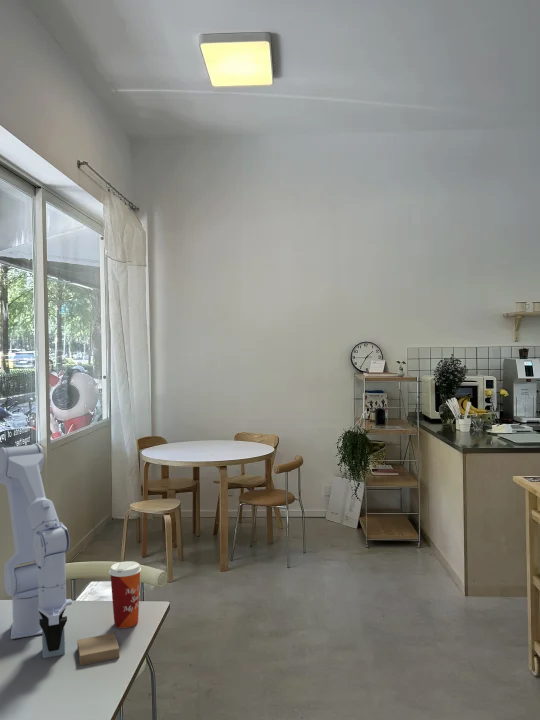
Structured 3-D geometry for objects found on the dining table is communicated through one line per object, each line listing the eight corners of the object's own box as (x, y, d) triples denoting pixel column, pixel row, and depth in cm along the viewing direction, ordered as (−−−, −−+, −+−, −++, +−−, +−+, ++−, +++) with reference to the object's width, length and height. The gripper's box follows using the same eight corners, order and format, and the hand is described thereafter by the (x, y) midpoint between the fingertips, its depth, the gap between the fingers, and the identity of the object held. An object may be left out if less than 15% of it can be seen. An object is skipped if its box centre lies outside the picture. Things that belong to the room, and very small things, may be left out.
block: (42, 649, 131) (42, 624, 131) (63, 645, 132) (63, 620, 133) (42, 658, 127) (42, 632, 127) (64, 654, 128) (64, 628, 128)
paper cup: (134, 631, 139) (133, 571, 139) (104, 629, 140) (103, 570, 140) (147, 617, 146) (146, 560, 147) (119, 615, 148) (118, 559, 148)
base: (77, 648, 130) (77, 639, 131) (114, 641, 134) (114, 632, 134) (80, 665, 123) (80, 655, 123) (119, 657, 126) (119, 648, 126)
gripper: (73, 591, 125) (74, 655, 124) (69, 570, 138) (70, 628, 138) (37, 597, 122) (38, 663, 122) (37, 575, 135) (38, 634, 135)
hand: (53, 645), depth 130 cm, fingers closed on block, 4 cm apart
